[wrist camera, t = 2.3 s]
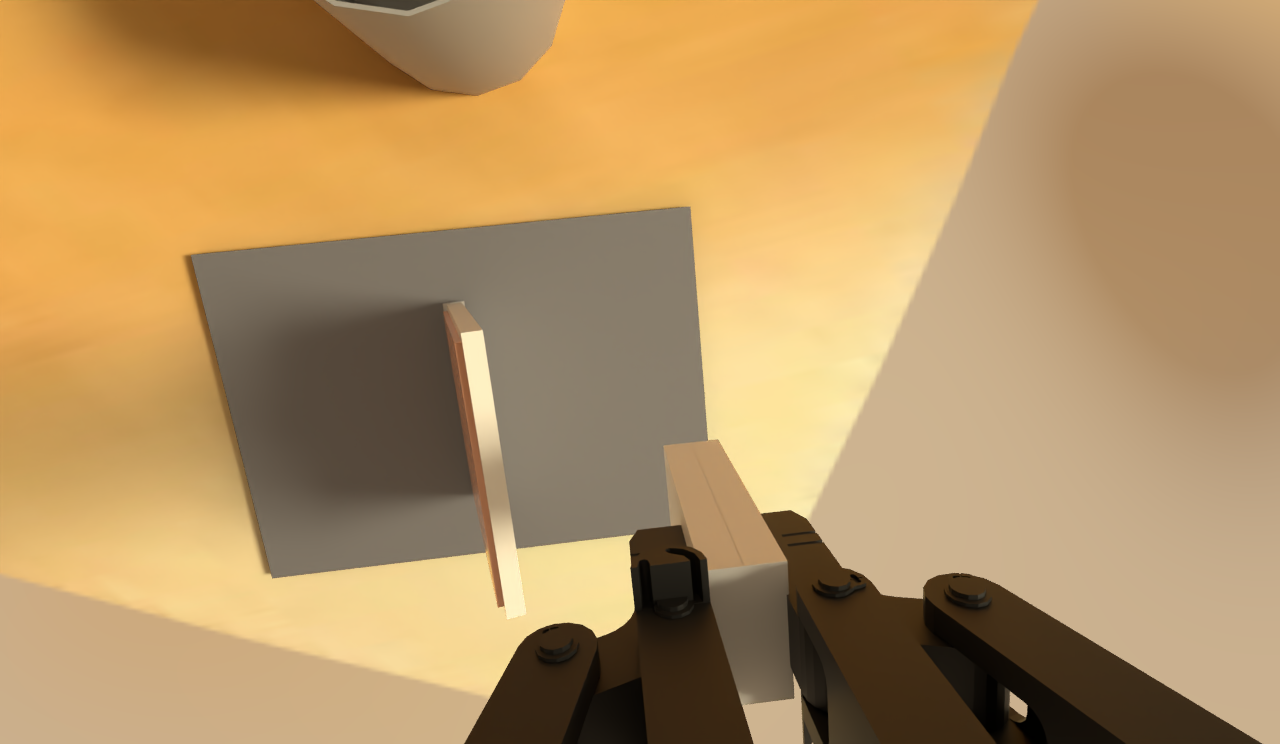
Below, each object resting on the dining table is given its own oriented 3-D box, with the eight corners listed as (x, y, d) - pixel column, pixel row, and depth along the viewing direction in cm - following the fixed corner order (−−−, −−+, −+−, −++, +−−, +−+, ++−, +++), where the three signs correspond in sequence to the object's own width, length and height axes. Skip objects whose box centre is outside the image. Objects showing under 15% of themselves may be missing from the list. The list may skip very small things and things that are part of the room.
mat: (198, 254, 27) (190, 254, 26) (688, 206, 28) (690, 206, 27) (277, 572, 30) (272, 578, 30) (712, 520, 31) (714, 524, 31)
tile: (488, 329, 18) (453, 334, 17) (531, 612, 20) (500, 621, 19) (463, 300, 27) (440, 302, 27) (494, 492, 29) (473, 496, 29)
